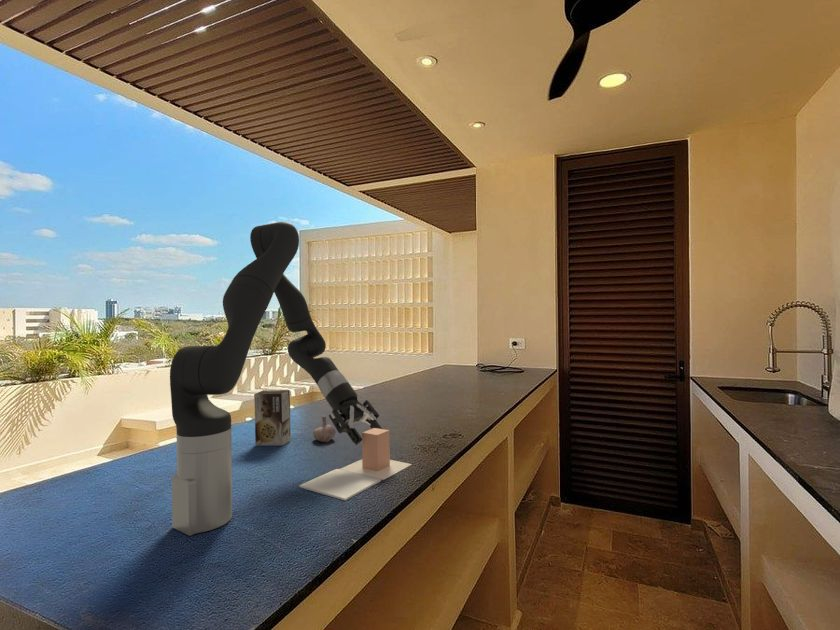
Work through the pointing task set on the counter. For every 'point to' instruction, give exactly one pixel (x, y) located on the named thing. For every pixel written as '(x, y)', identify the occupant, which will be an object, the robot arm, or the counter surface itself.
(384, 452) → the block
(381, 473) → the cream tile
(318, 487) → the beige board
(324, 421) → the garlic bulb
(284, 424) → the coffee box
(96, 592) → the counter surface
